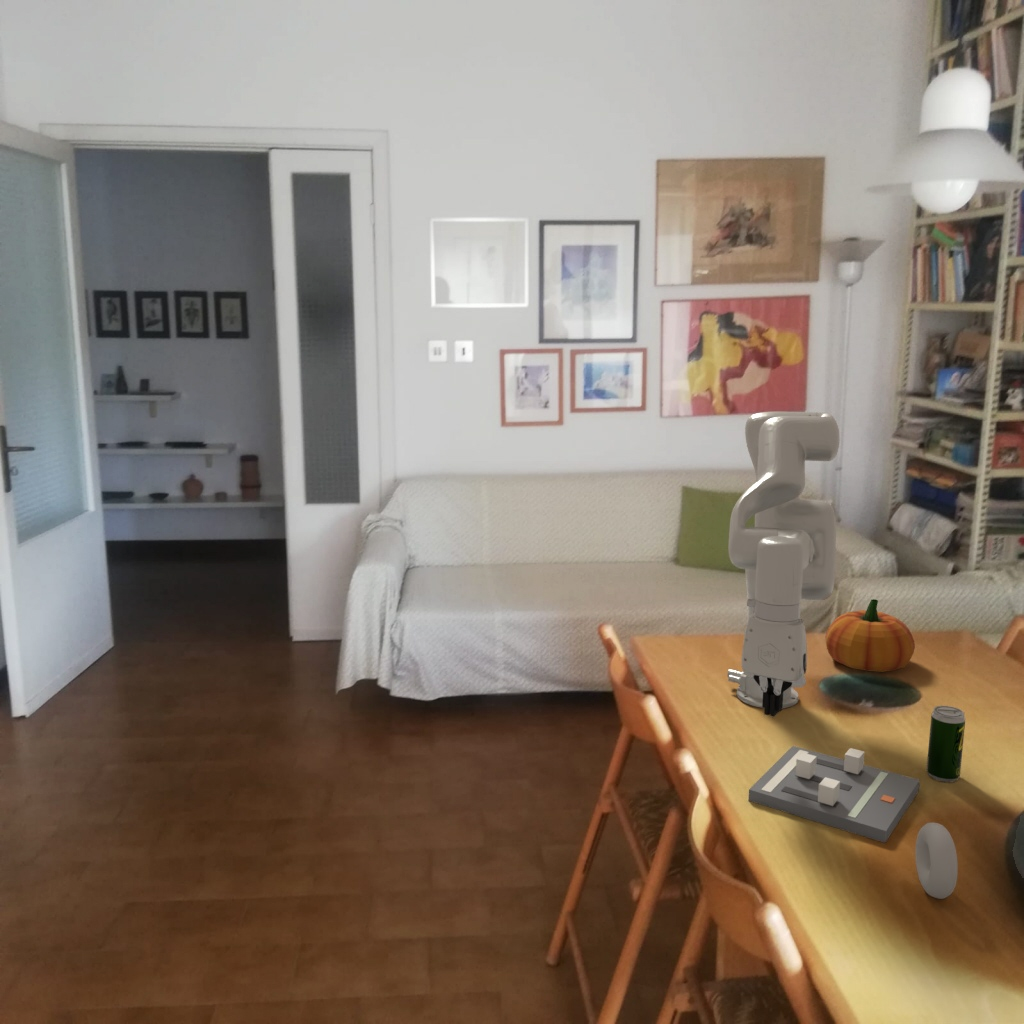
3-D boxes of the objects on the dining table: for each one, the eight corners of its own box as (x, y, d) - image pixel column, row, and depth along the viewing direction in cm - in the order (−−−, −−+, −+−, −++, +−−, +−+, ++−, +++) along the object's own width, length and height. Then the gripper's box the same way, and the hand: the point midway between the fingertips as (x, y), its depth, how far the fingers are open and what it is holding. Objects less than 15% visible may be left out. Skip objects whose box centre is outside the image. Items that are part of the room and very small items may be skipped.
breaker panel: (748, 800, 157) (749, 770, 156) (792, 755, 173) (793, 728, 172) (885, 842, 144) (887, 810, 143) (918, 790, 160) (921, 761, 159)
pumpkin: (820, 671, 214) (824, 608, 211) (827, 644, 231) (831, 585, 228) (913, 683, 206) (918, 618, 203) (912, 654, 224) (917, 593, 221)
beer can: (927, 780, 164) (933, 715, 161) (924, 766, 169) (930, 703, 166) (961, 785, 162) (968, 719, 159) (957, 770, 167) (963, 707, 164)
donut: (957, 915, 127) (964, 847, 125) (931, 913, 127) (937, 846, 125) (934, 872, 137) (940, 809, 135) (909, 871, 137) (915, 808, 135)
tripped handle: (795, 775, 161) (796, 759, 160) (801, 768, 163) (802, 752, 162) (809, 779, 159) (810, 762, 159) (815, 772, 162) (816, 756, 161)
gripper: (726, 608, 161) (722, 710, 164) (813, 623, 152) (807, 731, 155) (744, 598, 166) (739, 697, 170) (829, 612, 158) (822, 716, 161)
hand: (772, 713), depth 162 cm, fingers closed
